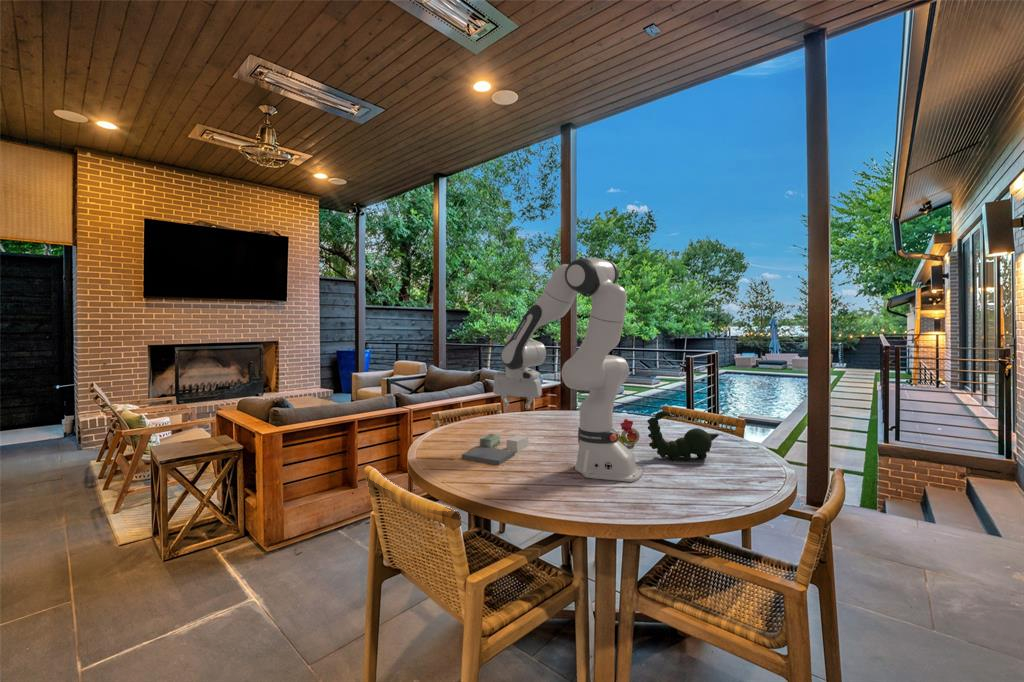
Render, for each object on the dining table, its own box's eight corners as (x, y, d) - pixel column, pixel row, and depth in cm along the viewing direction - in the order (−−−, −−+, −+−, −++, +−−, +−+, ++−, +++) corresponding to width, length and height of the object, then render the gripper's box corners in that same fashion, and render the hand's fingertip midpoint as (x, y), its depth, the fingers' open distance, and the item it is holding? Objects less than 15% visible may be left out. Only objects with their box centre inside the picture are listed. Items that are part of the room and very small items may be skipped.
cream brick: (528, 447, 179) (528, 436, 179) (517, 452, 172) (517, 441, 172) (517, 445, 182) (517, 434, 181) (506, 450, 175) (506, 439, 175)
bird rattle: (630, 448, 183) (610, 440, 182) (641, 423, 182) (621, 415, 182) (635, 453, 176) (614, 444, 176) (646, 427, 176) (626, 419, 175)
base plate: (514, 455, 168) (514, 451, 168) (499, 464, 158) (499, 460, 158) (479, 449, 176) (479, 446, 176) (461, 458, 165) (461, 454, 165)
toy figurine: (655, 467, 158) (726, 461, 158) (651, 415, 157) (722, 408, 157) (648, 459, 168) (714, 453, 167) (643, 409, 167) (710, 403, 166)
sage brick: (500, 445, 182) (499, 434, 182) (490, 451, 175) (490, 439, 175) (489, 444, 184) (489, 433, 184) (479, 449, 177) (479, 438, 177)
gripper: (490, 372, 177) (490, 406, 178) (536, 375, 168) (536, 411, 169) (497, 370, 183) (498, 403, 184) (543, 373, 173) (543, 408, 174)
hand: (516, 407), depth 176 cm, fingers open, 8 cm apart
